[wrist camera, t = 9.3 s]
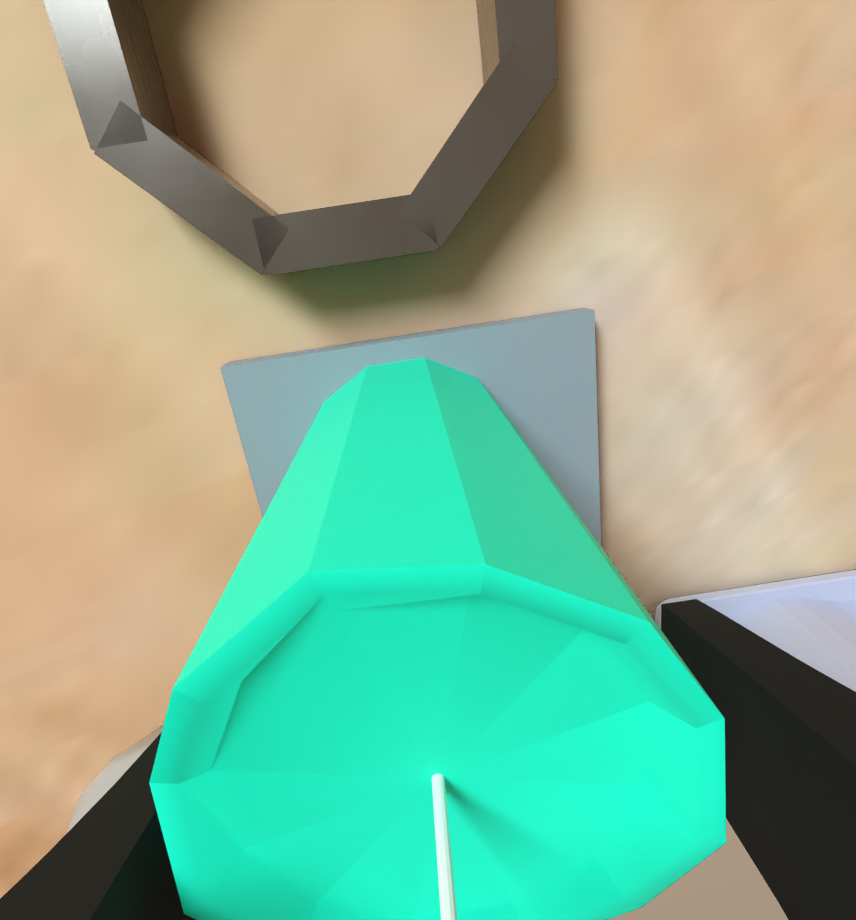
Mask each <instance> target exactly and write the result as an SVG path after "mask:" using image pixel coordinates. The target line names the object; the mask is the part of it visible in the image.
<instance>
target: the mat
mask: <svg viewBox="0 0 856 920" xmlns="http://www.w3.org/2000/svg"><path fill="white" fill-rule="evenodd" d="M423 357H425V358H428V359H430V360H433V361H435V362H438V363H441V364H443V365H446V366H448V367H451V368H453V369H456V370H458V371H461V372H464V373H466V374H469V375H471V376H474V377H476V378H478V379H479V381H480V382H481V383H482V385H483V386H484V387H485V388H486V390H487V391H488V392H489V394H490V395H491V396H492V398H493V399H494V400H495V402H496V403H497V404H498V405H499V407H500V408H501V409H502V411H503V412H504V413H505V415H506V416H507V417H508V418H509V420H510V421H511V423H512V424H513V425H514V427H515V428H516V429H517V431H518V432H519V434H520V435H521V436H522V438H523V439H524V441H525V442H526V443H527V445H528V446H529V447H530V449H531V450H532V452H533V453H534V454H535V456H536V457H537V459H538V460H539V461H540V463H541V464H542V466H543V467H544V468H545V470H546V471H547V472H548V474H549V475H550V477H551V478H552V479H553V481H554V482H555V484H556V485H557V486H558V488H559V489H560V491H561V492H562V493H563V495H564V496H565V497H566V499H567V500H568V502H569V503H570V504H571V506H572V507H573V509H574V510H575V511H576V513H577V514H578V516H579V517H580V518H581V520H582V521H583V522H584V524H585V525H586V527H587V528H588V529H589V531H590V532H591V534H592V535H593V536H594V538H595V539H596V540H597V542H598V543H599V545H600V546H601V519H600V485H599V450H598V416H597V382H596V347H595V313H594V310H591V309H587V308H580V309H573V310H567V311H560V312H554V313H547V314H541V315H534V316H528V317H521V318H514V319H508V320H501V321H495V322H488V323H482V324H475V325H468V326H462V327H455V328H449V329H442V330H436V331H429V332H423V333H416V334H409V335H403V336H396V337H390V338H383V339H377V340H370V341H364V342H357V343H350V344H344V345H337V346H331V347H324V348H318V349H311V350H304V351H298V352H291V353H285V354H278V355H272V356H265V357H259V358H252V359H245V360H239V361H232V362H228V363H227V364H225V365H223V366H222V367H220V368H221V372H222V375H223V379H224V383H225V386H226V390H227V393H228V397H229V400H230V404H231V407H232V411H233V414H234V418H235V421H236V425H237V429H238V432H239V436H240V439H241V443H242V446H243V450H244V453H245V457H246V460H247V464H248V467H249V471H250V475H251V478H252V482H253V485H254V489H255V492H256V496H257V499H258V503H259V506H260V510H261V513H262V517H264V515H265V513H266V511H267V509H268V507H269V505H270V503H271V501H272V499H273V498H274V496H275V494H276V492H277V490H278V488H279V486H280V484H281V482H282V480H283V479H284V477H285V475H286V473H287V471H288V469H289V467H290V465H291V463H292V461H293V460H294V458H295V456H296V454H297V452H298V450H299V448H300V446H301V444H302V442H303V441H304V439H305V437H306V435H307V433H308V431H309V429H310V427H311V425H312V423H313V422H314V420H315V418H316V416H317V414H318V412H319V410H320V408H321V406H322V404H323V403H324V401H326V400H327V399H328V398H329V397H330V396H332V395H333V394H334V393H335V392H336V391H338V390H339V389H340V388H341V387H343V386H344V385H345V384H346V383H347V382H349V381H350V380H351V379H352V378H354V377H355V376H356V375H357V374H358V373H360V372H361V371H362V370H363V369H364V368H366V367H367V366H372V365H378V364H385V363H391V362H397V361H404V360H410V359H417V358H423Z"/></svg>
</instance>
